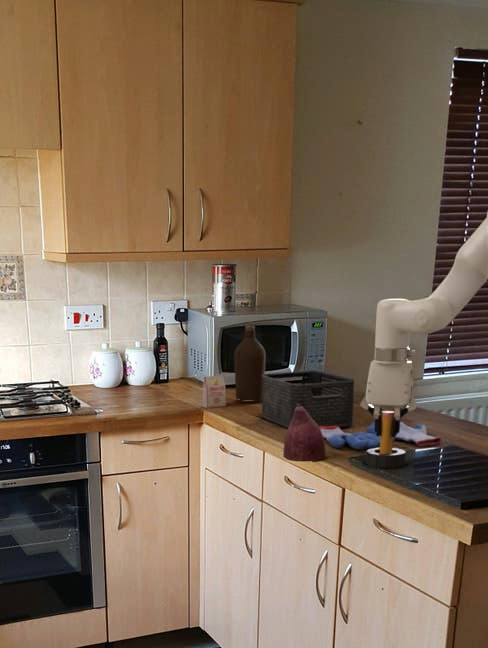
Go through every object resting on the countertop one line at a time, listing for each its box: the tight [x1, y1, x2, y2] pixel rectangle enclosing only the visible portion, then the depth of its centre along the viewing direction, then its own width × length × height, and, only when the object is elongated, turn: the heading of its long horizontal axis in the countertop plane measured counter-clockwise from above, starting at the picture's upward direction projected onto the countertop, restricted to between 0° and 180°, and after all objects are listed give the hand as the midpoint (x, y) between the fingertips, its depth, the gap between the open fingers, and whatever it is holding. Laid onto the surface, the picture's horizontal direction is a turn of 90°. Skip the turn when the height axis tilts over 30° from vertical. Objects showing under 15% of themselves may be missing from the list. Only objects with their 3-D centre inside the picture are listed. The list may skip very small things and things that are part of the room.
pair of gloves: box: [319, 421, 442, 451], centre depth 232 cm, size 32×26×4 cm
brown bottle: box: [233, 325, 267, 404], centre depth 295 cm, size 11×11×25 cm
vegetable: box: [283, 404, 327, 463], centre depth 213 cm, size 10×10×15 cm
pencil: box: [379, 410, 395, 454], centre depth 205 cm, size 3×3×10 cm
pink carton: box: [202, 375, 227, 409], centre depth 290 cm, size 4×7×10 cm, turn 108°
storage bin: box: [261, 370, 355, 429], centre depth 258 cm, size 29×19×13 cm
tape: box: [365, 447, 407, 469], centre depth 207 cm, size 9×9×3 cm
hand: (386, 434), depth 205 cm, fingers closed on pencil, 2 cm apart
